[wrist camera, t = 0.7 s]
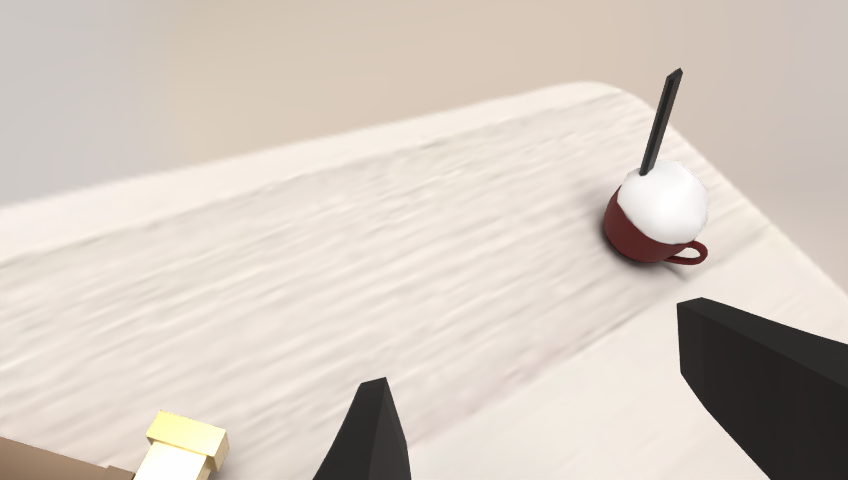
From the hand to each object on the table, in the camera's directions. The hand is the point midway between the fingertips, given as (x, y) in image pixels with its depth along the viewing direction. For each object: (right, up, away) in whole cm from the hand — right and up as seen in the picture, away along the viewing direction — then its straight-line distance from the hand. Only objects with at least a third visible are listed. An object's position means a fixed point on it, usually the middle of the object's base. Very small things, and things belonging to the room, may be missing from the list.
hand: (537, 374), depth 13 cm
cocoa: (+13, +3, +27) cm, 30 cm away
